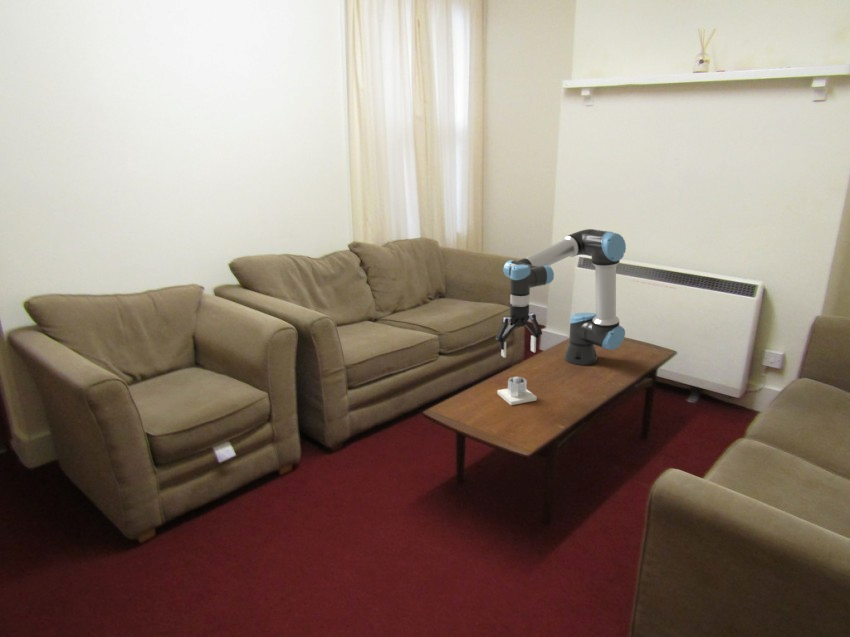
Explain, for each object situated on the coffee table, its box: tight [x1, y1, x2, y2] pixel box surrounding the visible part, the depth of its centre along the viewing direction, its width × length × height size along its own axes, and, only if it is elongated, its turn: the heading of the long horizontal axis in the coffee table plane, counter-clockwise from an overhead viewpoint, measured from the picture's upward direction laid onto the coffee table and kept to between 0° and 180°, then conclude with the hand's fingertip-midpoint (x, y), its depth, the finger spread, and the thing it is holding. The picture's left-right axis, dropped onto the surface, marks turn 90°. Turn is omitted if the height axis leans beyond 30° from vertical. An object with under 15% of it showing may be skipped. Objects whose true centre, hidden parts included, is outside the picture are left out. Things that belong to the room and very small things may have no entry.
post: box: [496, 376, 538, 406], centre depth 235 cm, size 12×12×8 cm
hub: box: [507, 376, 528, 398], centre depth 235 cm, size 7×7×6 cm
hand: (518, 354), depth 231 cm, fingers open, 13 cm apart
